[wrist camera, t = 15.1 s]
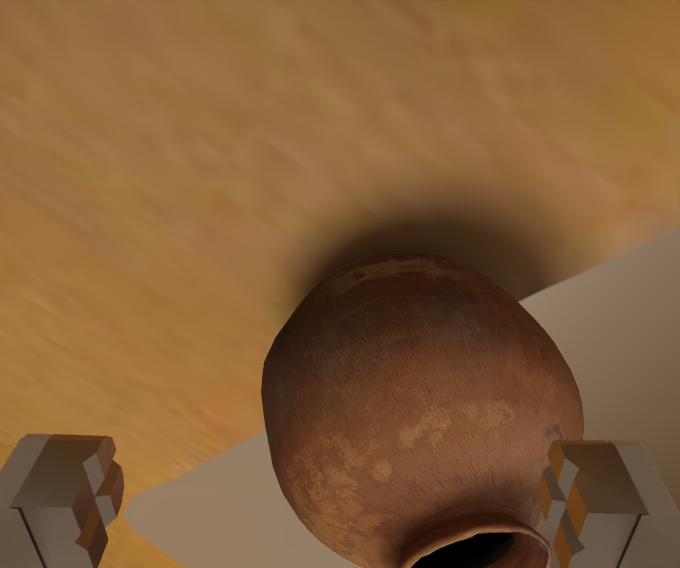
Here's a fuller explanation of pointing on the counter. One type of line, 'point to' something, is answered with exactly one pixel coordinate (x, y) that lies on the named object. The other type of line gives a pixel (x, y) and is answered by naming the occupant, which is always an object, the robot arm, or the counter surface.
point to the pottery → (417, 416)
